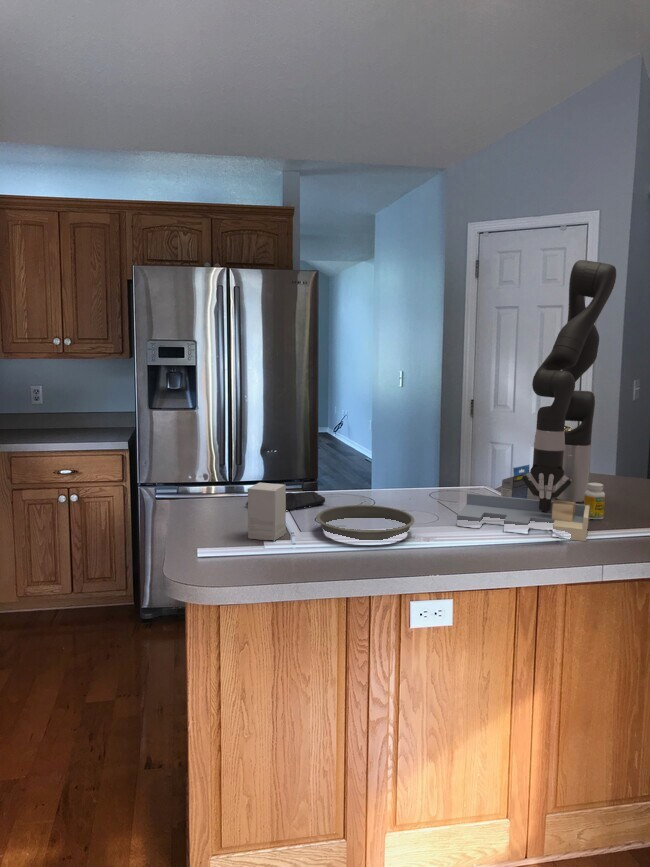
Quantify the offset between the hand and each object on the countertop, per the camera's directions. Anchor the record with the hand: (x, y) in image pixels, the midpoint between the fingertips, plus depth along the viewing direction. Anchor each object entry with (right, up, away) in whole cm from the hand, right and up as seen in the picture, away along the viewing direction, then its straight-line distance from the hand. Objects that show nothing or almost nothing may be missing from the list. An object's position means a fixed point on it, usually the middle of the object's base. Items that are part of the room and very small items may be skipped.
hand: (544, 512), depth 195 cm
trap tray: (-6, -4, 0) cm, 7 cm away
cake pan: (-48, -5, -9) cm, 49 cm away
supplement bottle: (+17, -3, +10) cm, 20 cm away
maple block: (+4, -1, -3) cm, 5 cm away
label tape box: (-3, -1, +22) cm, 22 cm away
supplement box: (-72, -5, -13) cm, 73 cm away
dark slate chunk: (-69, -1, +18) cm, 71 cm away
